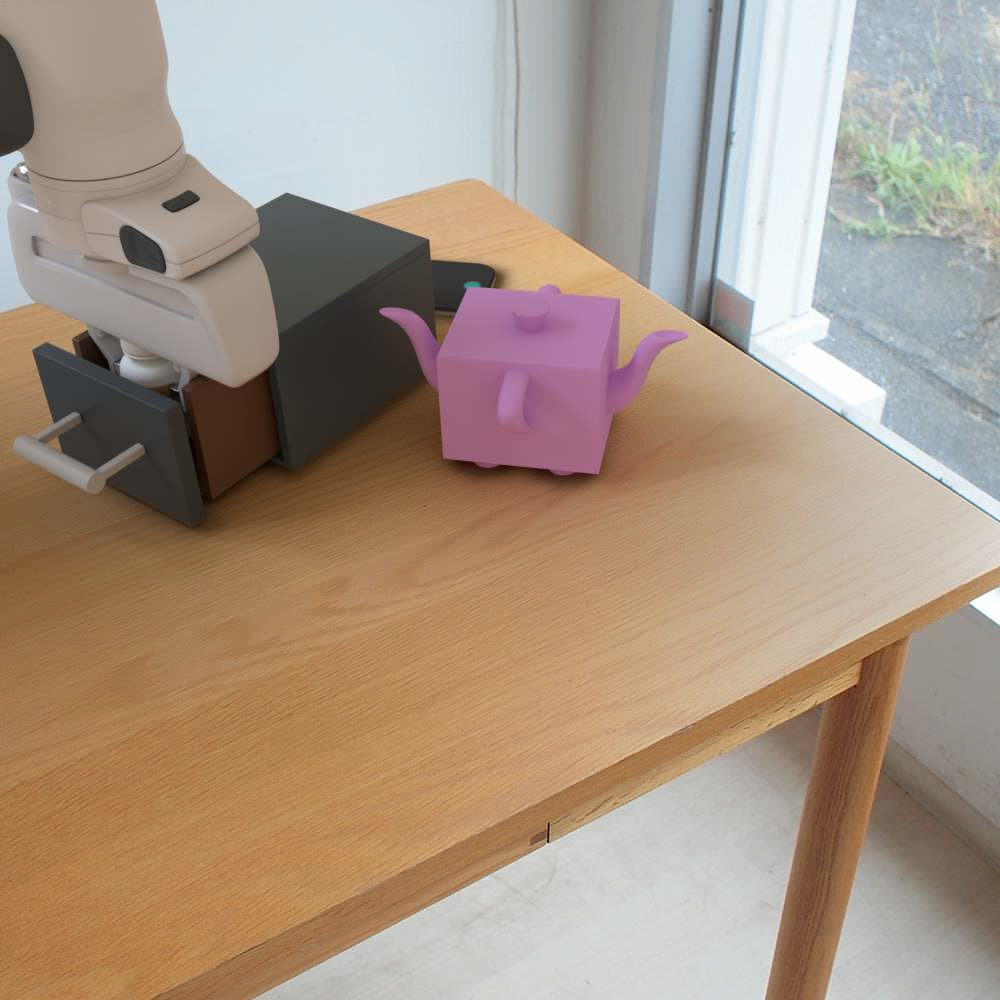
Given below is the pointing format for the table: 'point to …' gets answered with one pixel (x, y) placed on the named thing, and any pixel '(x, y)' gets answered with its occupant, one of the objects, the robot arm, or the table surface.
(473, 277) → the smartphone
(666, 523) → the table surface
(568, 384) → the teapot
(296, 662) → the table surface
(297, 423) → the cabinet
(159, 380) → the pill bottle
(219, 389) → the drawer
